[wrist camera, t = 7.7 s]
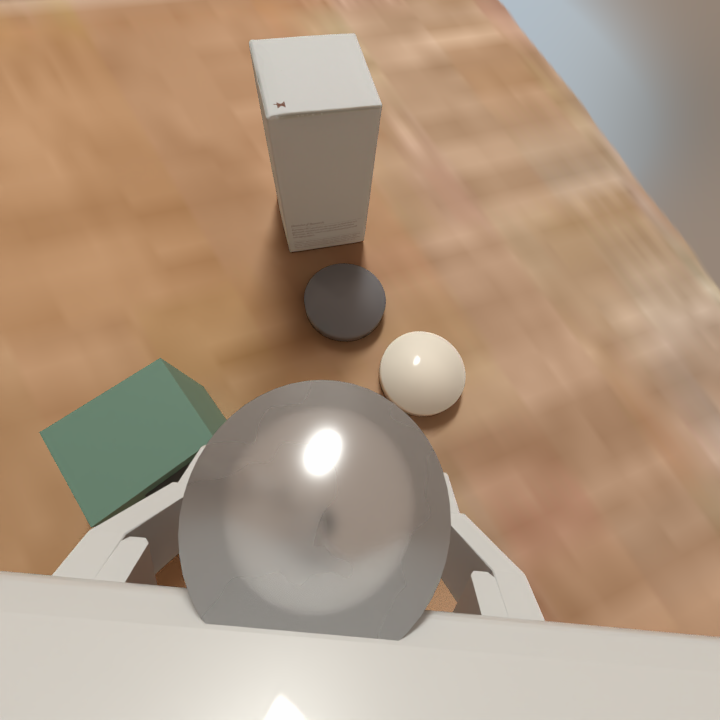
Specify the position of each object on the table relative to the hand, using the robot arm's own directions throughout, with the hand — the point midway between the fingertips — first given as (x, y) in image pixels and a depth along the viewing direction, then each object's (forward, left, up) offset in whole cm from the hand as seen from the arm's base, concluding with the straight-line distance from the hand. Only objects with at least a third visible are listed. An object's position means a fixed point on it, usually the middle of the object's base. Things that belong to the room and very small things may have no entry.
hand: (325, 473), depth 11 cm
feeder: (-7, +8, -15) cm, 18 cm away
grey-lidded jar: (0, 0, -6) cm, 6 cm away
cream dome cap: (+11, +1, -15) cm, 18 cm away
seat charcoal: (+10, +10, -15) cm, 21 cm away
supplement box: (+14, +19, -15) cm, 28 cm away
